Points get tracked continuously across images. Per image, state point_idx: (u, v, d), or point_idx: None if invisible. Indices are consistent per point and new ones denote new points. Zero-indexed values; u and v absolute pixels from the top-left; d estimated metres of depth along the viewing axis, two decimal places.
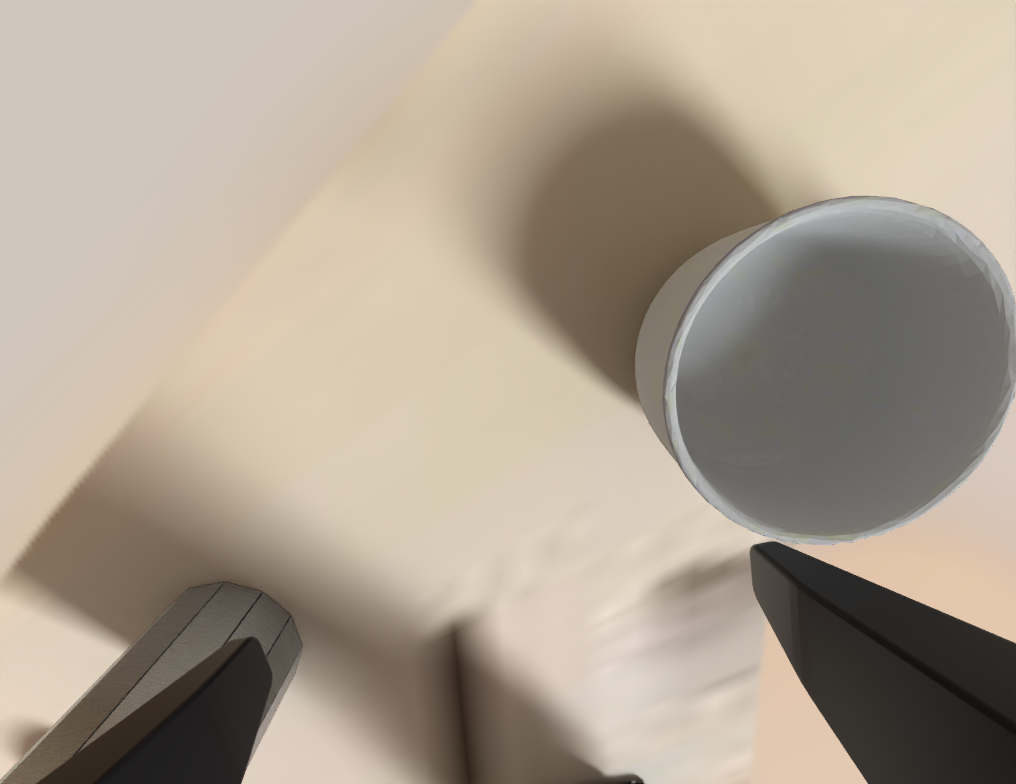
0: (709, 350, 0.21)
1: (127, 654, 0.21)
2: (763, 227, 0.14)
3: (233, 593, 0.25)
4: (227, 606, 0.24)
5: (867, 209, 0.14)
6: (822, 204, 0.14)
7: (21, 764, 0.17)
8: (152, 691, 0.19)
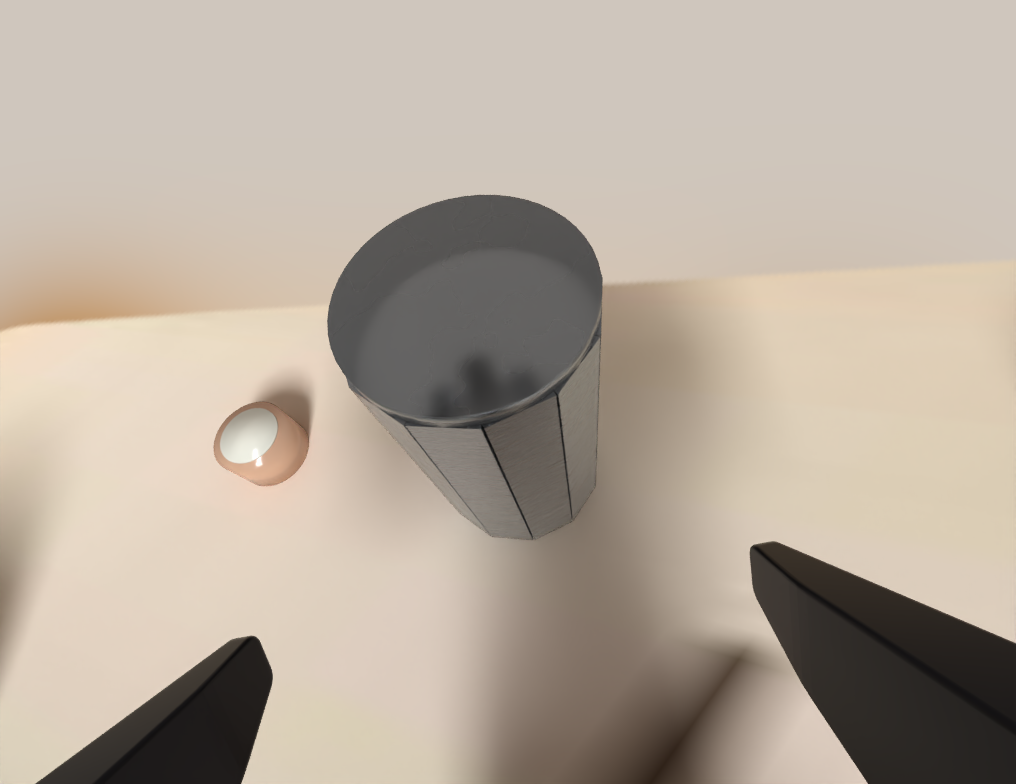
0: None
1: None
2: None
3: None
4: None
5: None
6: None
7: None
8: None
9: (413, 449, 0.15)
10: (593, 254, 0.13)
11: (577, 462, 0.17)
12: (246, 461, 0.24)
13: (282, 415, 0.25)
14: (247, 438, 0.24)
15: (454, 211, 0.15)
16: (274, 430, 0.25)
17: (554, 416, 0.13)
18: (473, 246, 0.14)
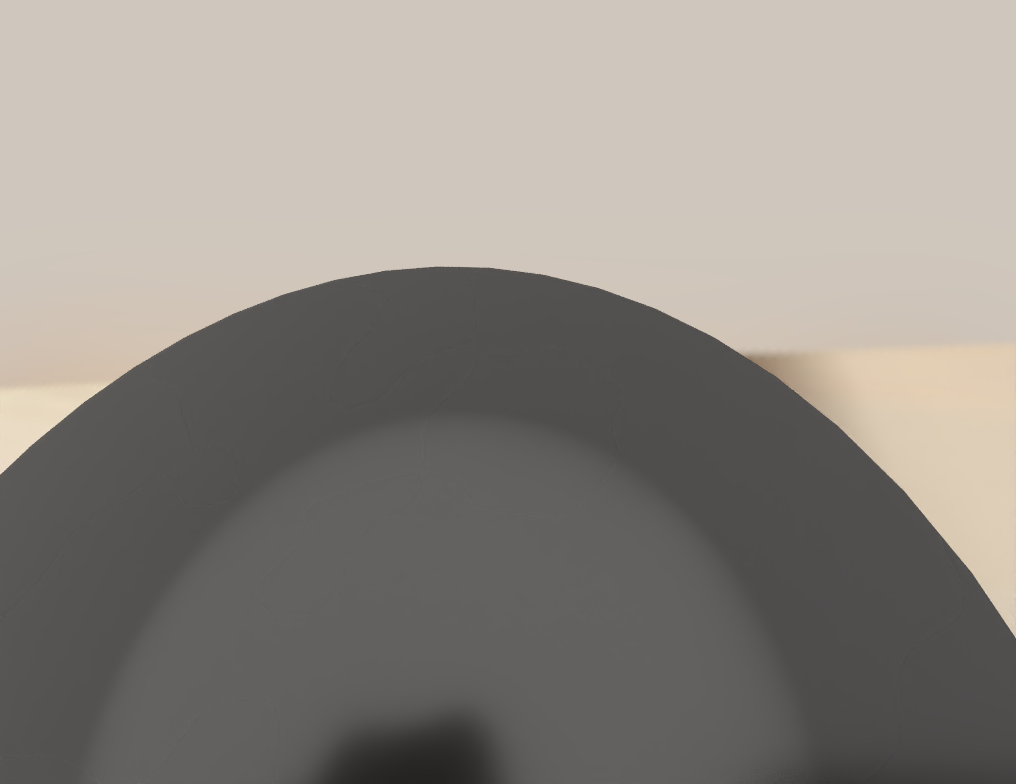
0: None
1: None
2: None
3: None
4: None
5: None
6: None
7: None
8: None
9: None
10: (989, 614, 0.03)
11: None
12: None
13: None
14: None
15: (346, 328, 0.04)
16: None
17: None
18: (396, 498, 0.03)
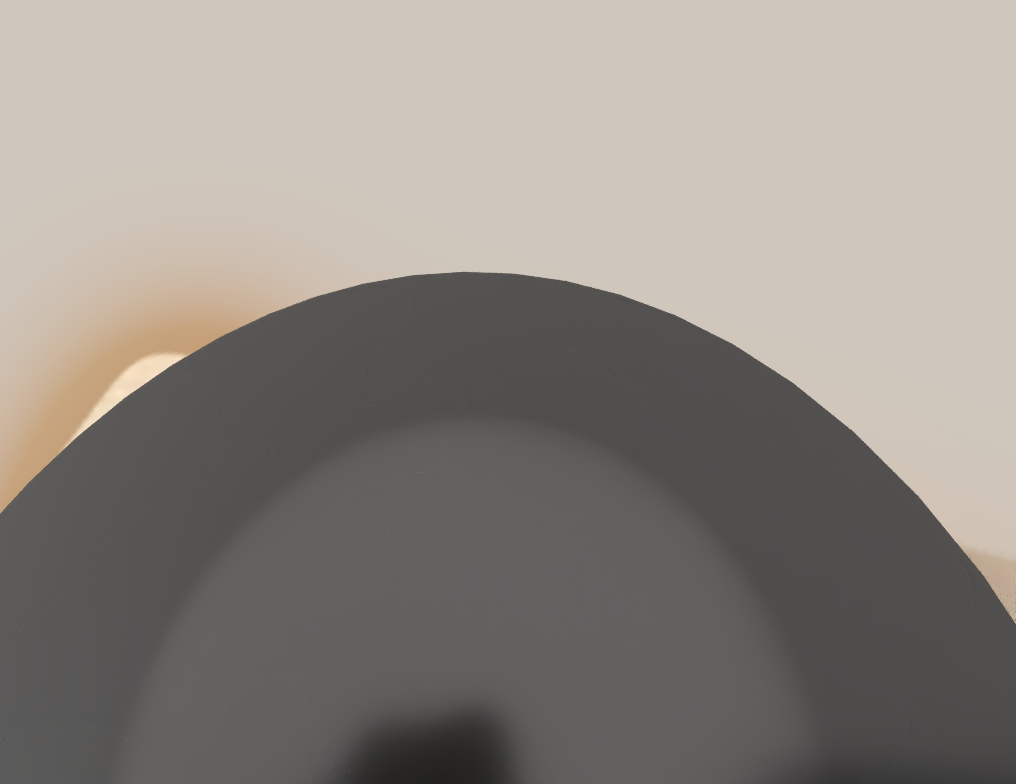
0: None
1: None
2: None
3: None
4: None
5: None
6: None
7: None
8: None
9: None
10: (1000, 615, 0.03)
11: None
12: None
13: None
14: None
15: (376, 330, 0.04)
16: None
17: None
18: (425, 494, 0.03)
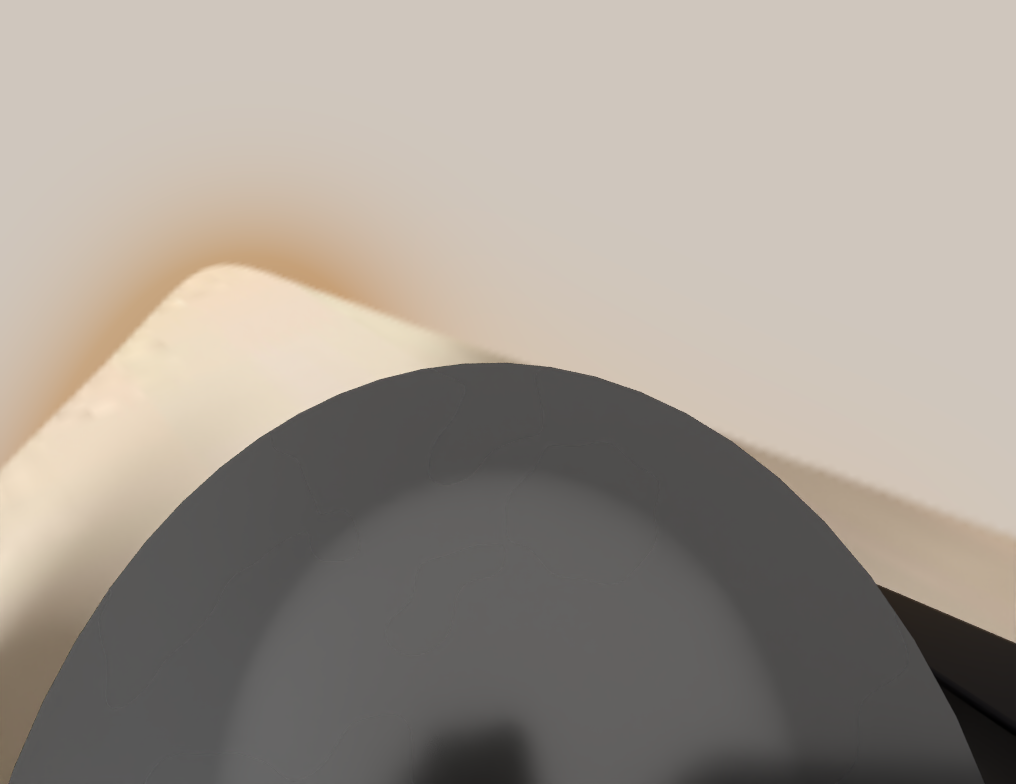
0: None
1: None
2: None
3: None
4: None
5: None
6: None
7: None
8: None
9: None
10: (924, 670, 0.04)
11: None
12: None
13: None
14: None
15: (436, 413, 0.05)
16: None
17: None
18: (488, 562, 0.04)
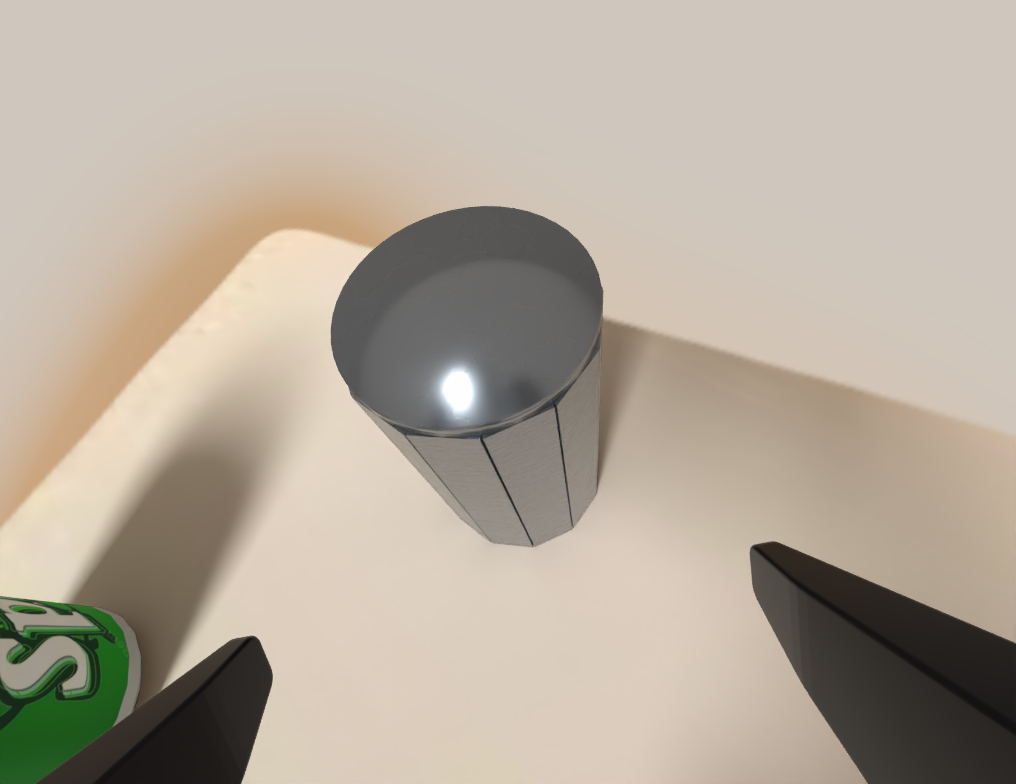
0: None
1: None
2: None
3: None
4: None
5: None
6: None
7: None
8: None
9: (414, 457, 0.15)
10: (594, 267, 0.13)
11: (577, 471, 0.17)
12: None
13: None
14: None
15: (458, 222, 0.15)
16: None
17: (553, 427, 0.13)
18: (475, 257, 0.14)
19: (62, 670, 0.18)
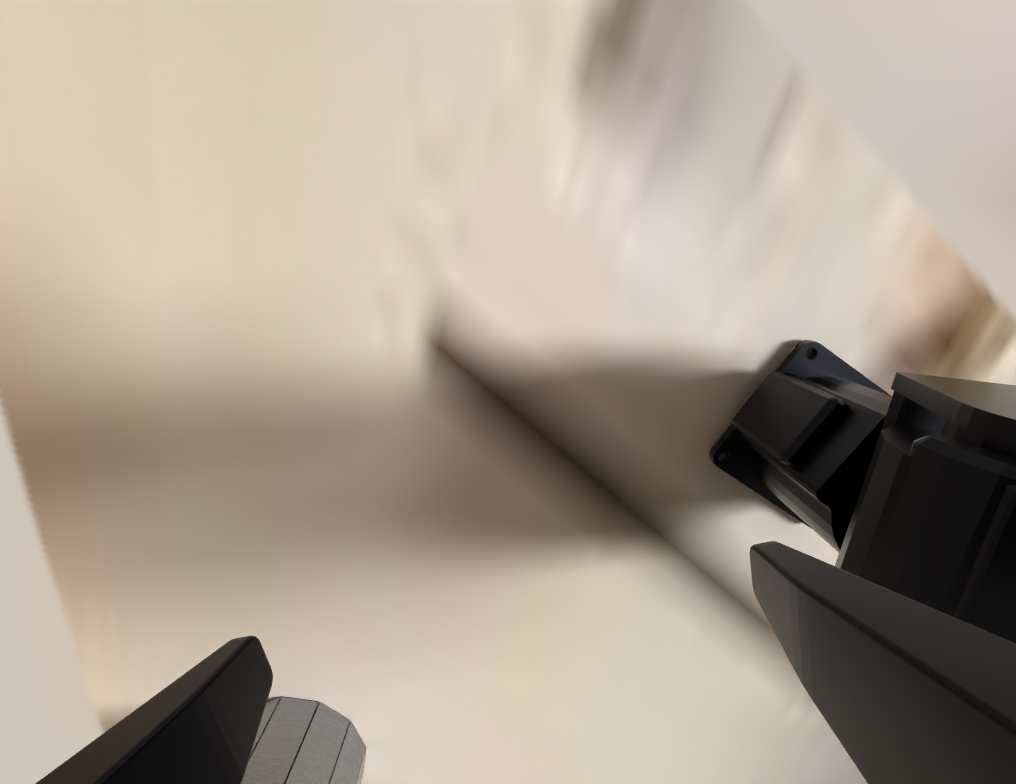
0: None
1: None
2: None
3: None
4: None
5: None
6: None
7: None
8: None
9: None
10: None
11: None
12: None
13: None
14: None
15: None
16: None
17: None
18: None
19: None
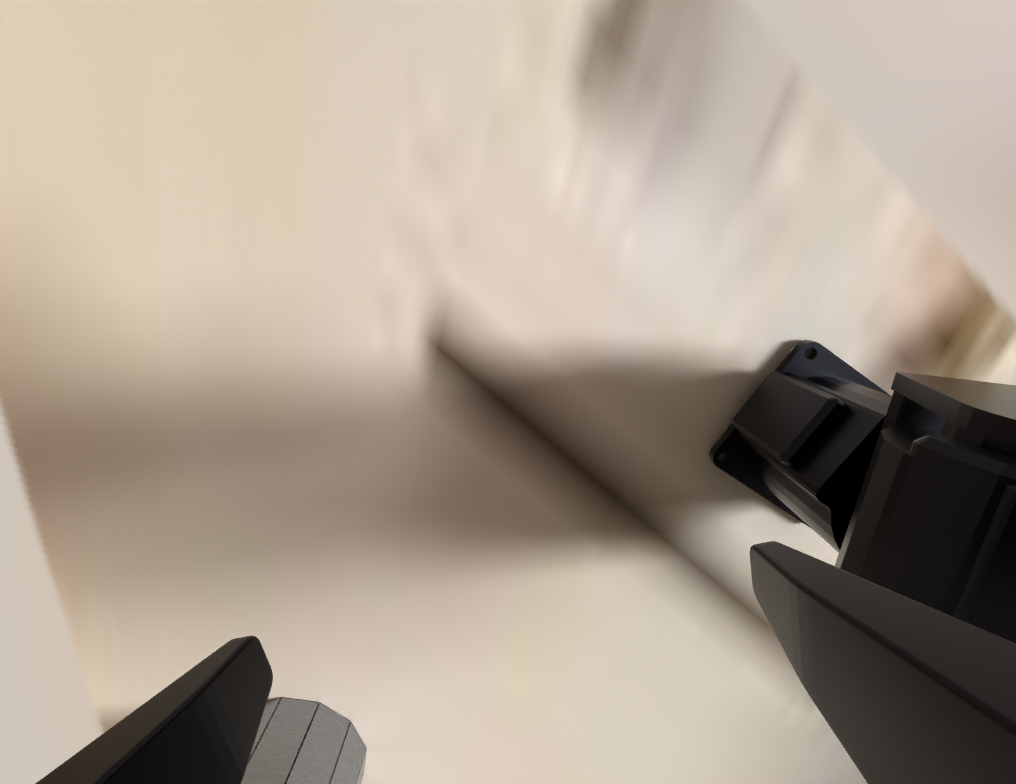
0: None
1: None
2: None
3: None
4: None
5: None
6: None
7: None
8: None
9: None
10: None
11: None
12: None
13: None
14: None
15: None
16: None
17: None
18: None
19: None
